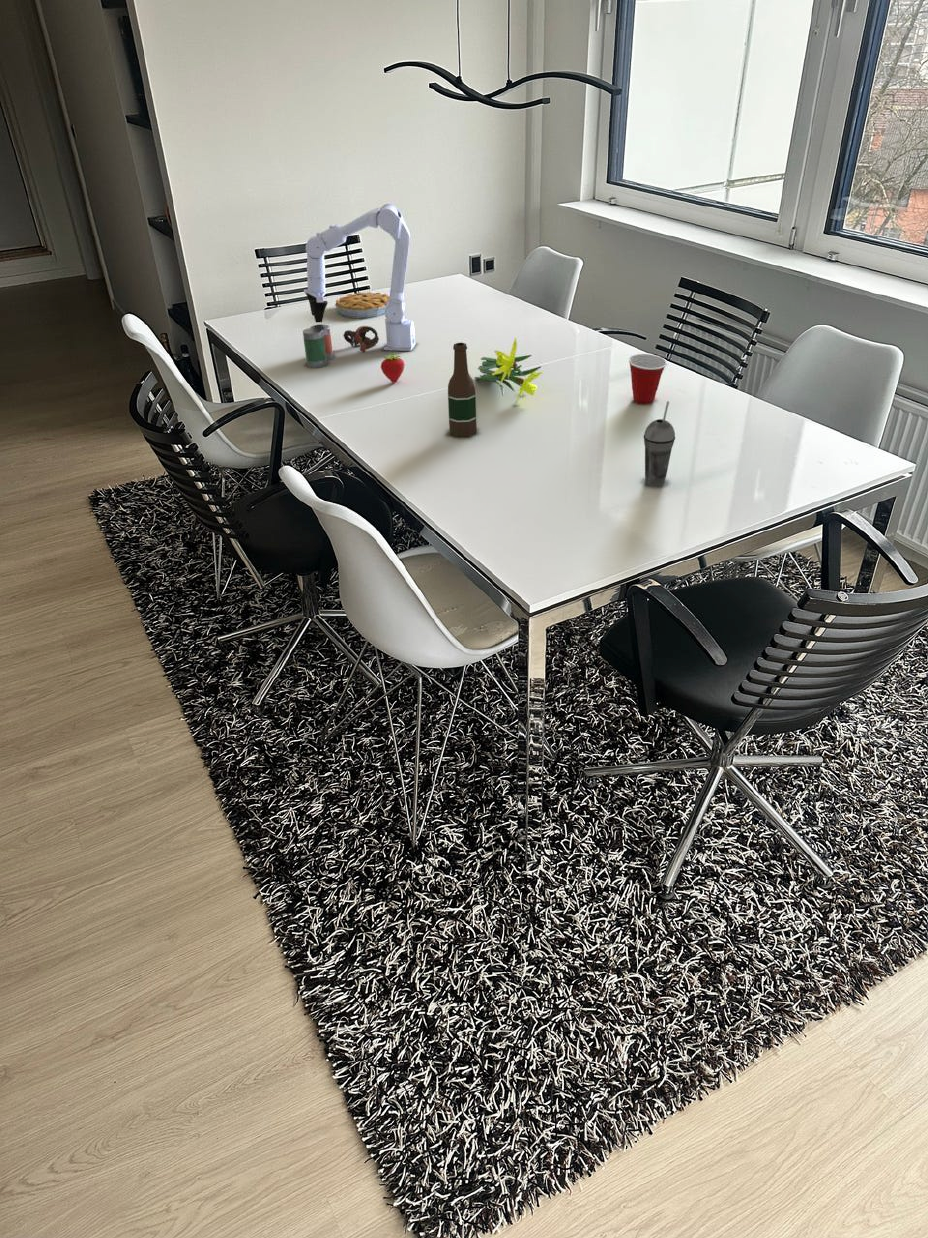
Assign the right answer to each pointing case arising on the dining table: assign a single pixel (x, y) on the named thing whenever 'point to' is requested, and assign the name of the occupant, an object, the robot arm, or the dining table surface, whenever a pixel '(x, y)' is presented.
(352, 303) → the pie
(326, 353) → the tin cans
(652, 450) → the beverage cup
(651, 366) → the plastic cup
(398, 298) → the robot arm
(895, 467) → the dining table surface
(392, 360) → the strawberry
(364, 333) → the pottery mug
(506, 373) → the daffodil flowers
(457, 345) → the beer bottle
